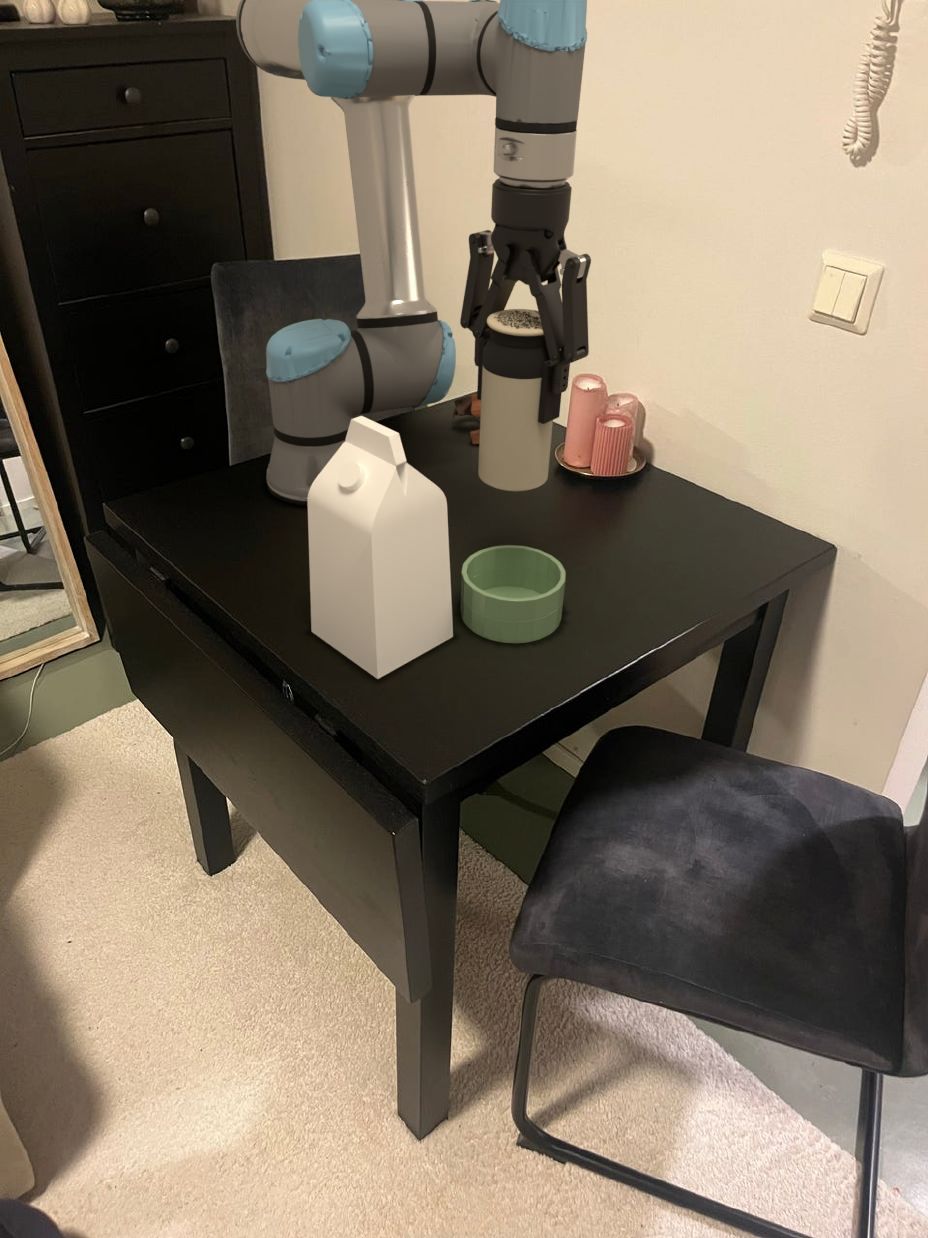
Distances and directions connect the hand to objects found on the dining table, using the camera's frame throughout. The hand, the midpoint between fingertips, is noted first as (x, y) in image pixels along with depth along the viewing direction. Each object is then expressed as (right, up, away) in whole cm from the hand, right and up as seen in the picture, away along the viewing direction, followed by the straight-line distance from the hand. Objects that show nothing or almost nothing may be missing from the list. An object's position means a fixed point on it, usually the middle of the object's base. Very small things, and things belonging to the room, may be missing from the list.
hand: (517, 407), depth 98 cm
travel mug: (0, -7, +5) cm, 9 cm away
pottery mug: (-2, +8, +55) cm, 55 cm away
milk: (-15, -25, +7) cm, 30 cm away
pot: (0, -22, +11) cm, 25 cm away
